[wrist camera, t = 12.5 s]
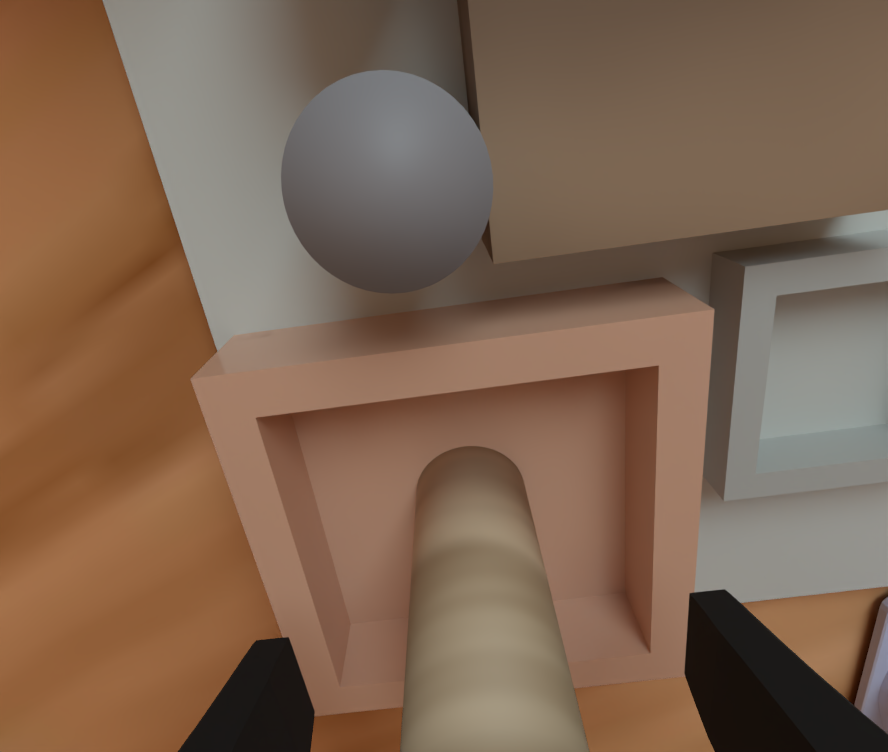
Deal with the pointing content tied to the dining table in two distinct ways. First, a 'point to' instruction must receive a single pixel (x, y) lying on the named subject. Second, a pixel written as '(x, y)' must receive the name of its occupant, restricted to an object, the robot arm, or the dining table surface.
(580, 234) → the square tan tile
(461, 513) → the dowel
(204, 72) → the jig board
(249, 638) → the dining table surface
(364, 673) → the tray
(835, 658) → the dining table surface
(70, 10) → the dining table surface
